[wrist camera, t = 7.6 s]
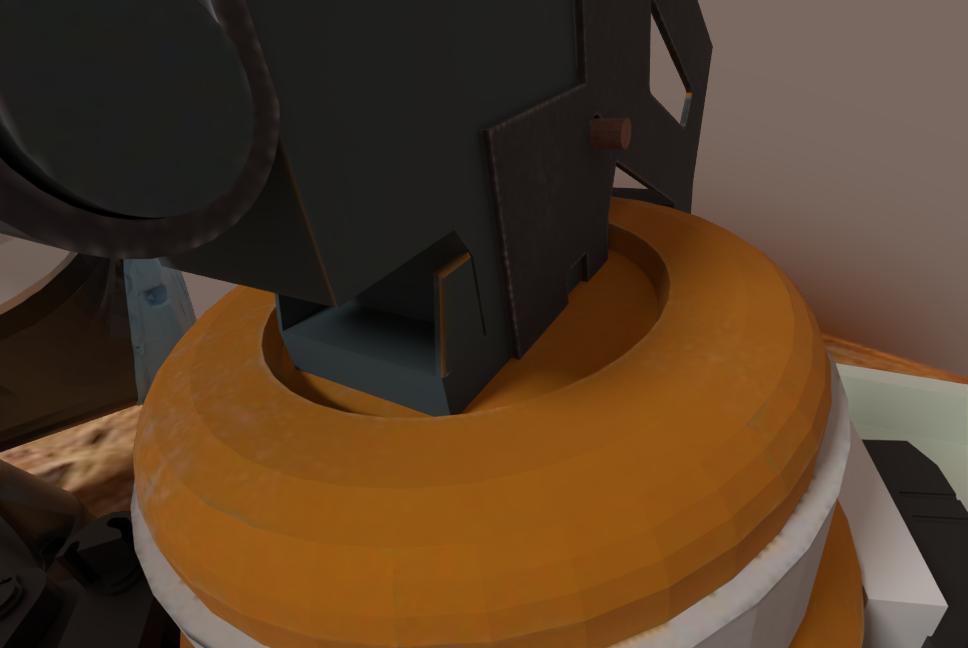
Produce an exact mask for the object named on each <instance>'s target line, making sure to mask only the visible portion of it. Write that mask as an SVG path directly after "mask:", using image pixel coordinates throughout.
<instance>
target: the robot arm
mask: <svg viewBox="0 0 968 648" xmlns="http://www.w3.org/2000/svg"><path fill="white" fill-rule="evenodd" d="M196 322H197V321H196V317H195V314H194V310H193V307H192V303H191V300H190V297H189V293H188V290H187V287H186V284H185V281H184V278H183V275H182V272H181V271H180V270H176V269H171V268H167V267H163V266H161V264H160V262H159V260H158V258H154V259H111V258H105V257H99V256H93V255H87V254H81V253H75V252H71V251H67V250H63V249H59V248H56V247H52V246H48V245H44V244H40V243H36V242H32V241H28V240H24V239H20V238H16V237H12V236H8V235H5V234H1V233H0V452H3V451H5V450H8V449H11V448H14V447H17V446H20V445H23V444H26V443H28V442H31V441H34V440H37V439H40V438H43V437H46V436H49V435H52V434H54V433H57V432H60V431H63V430H66V429H69V428H72V427H75V426H78V425H80V424H83V423H86V422H89V421H92V420H95V419H98V418H101V417H103V416H106V415H109V414H112V413H115V412H118V411H121V410H124V409H127V408H129V407H132V406H135V405H138V406H139V405H143V404H144V401H145V399H146V397H147V394H148V392H149V390H150V388H151V385H152V383H153V381H154V378H155V376H156V374H157V372H158V370H159V369H160V367H161V366H162V365H163V363H164V362H165V360H166V359H167V357H168V356H169V354H170V353H171V351H172V350H173V349H174V347H175V346H176V344H177V343H178V342H179V341H180V339H181V338H182V337H183V336H184V334H185V333H186V332H187V331H188V330H189V329H190V328H191V327H192V326H193V325H194V324H195V323H196ZM849 424H850V443H851V445H850V450H849V454H848V458H847V462H846V466H845V471H844V475H843V479H842V483H841V487H840V492H839V496H838V500H839V503H840V505H841V507H842V509H843V511H844V513H845V515H846V517H847V519H848V523H849V526H850V530H851V534H852V538H853V541H854V545H855V549H856V553H857V557H858V560H859V564H860V568H861V572H862V589H863V606H864V623H865V632H864V639H863V645H862V648H968V511H967V510H966V508H965V507H964V505H963V504H962V502H961V501H960V500H957V498H956V493H955V491H954V490H953V488H952V487H951V485H950V484H949V482H948V481H947V479H946V477H945V476H944V474H943V473H942V471H941V470H940V468H939V467H938V465H937V464H935V463H934V462H933V461H932V460H930V459H929V458H928V457H927V456H925V455H924V454H923V453H922V452H920V451H919V450H918V449H917V448H916V447H914V446H913V445H912V444H911V443H909V442H908V441H903V440H865V439H861V438H860V436H859V434H858V432H857V430H856V428H855V427H854V425H853V423H852V421H851V419H850V417H849ZM180 637H181V629H180V628H179V627H178V625H177V624H176V623H175V621H174V620H173V619H172V618H171V616H170V615H169V614H168V612H167V611H166V610H165V609H164V607H163V606H162V605H161V604H160V602H159V601H158V600H157V598H156V597H155V596H154V595H153V593H152V590H151V588H150V586H149V583H148V581H147V578H146V576H145V573H144V571H143V568H142V566H141V564H140V561H139V559H138V556H137V554H136V551H135V547H134V537H133V527H132V517H131V512H130V511H121V512H115V513H111V514H108V515H106V516H104V517H101V518H99V519H97V520H96V519H95V518H94V516H93V515H92V514H91V513H90V512H89V510H88V509H87V508H86V507H85V506H84V505H83V504H82V502H81V501H80V500H79V499H78V498H77V497H76V496H74V495H73V494H71V493H70V492H68V491H66V490H64V489H62V488H60V487H58V486H55V485H53V484H51V483H49V482H47V481H45V480H43V479H41V478H39V477H36V476H34V475H32V474H30V473H28V472H26V471H24V470H22V469H20V468H17V467H15V466H13V465H11V464H9V463H7V462H5V461H3V460H1V459H0V648H180Z"/></svg>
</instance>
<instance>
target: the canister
mask: <svg viewBox="0 0 968 648" xmlns="http://www.w3.org/2000/svg"><path fill="white" fill-rule="evenodd" d="M651 14H652V16H653V18H654V20H655V22H656V25H657V27H658V29H659V31H660V34H661V36H662V38H663V40H664V42H665V44H666V47H667V49H668V51H669V53H670V56H671V58H672V60H673V62H674V65H675V67H676V69H677V71H678V73H679V75H680V78H681V80H682V82H683V84H684V87H685V89H686V98H685V103H684V107H683V112H682V117H681V121H680V124H679V123H678V122H677V121H676V119H675V118H674V117H673V116H672V115H671V114H670V113H669V112H668V111H667V110H666V109H665V108H664V107H663V106H662V105H661V104H660V103H659V102H658V101H657V100H656V98H654V96H653V95H652V94H651V92H650V84H649V80H650V78H649V77H650V30H651V29H650V28H651ZM712 48H713V46H712V43H711V40H710V37H709V34H708V31H707V28H706V25H705V22H704V19H703V16H702V13H701V9H700V7H699V4H698V0H0V233H1V234H5V235H8V236H12V237H16V238H20V239H24V240H28V241H32V242H36V243H40V244H44V245H48V246H52V247H56V248H59V249H63V250H67V251H71V252H75V253H81V254H87V255H93V256H99V257H105V258H111V259H154V258H158V260H159V262H160V264H161V266H163V267H167V268H171V269H176V270H180V271H184V272H188V273H193V274H197V275H201V276H205V277H209V278H213V279H218V280H222V281H226V282H230V283H234V284H239V286H237V287H236V288H234V289H233V290H232V291H230V292H229V293H228V294H226V295H225V296H224V297H223V298H222V299H220V300H219V301H218V302H217V303H216V304H214V306H212V307H211V308H210V309H209V310H208V311H206V312H205V313H204V314H203V315H202V316H201V317H200V318H199V319H198V321H197V322H196V323H195V324H194V325H193V326H192V327H191V328H190V329H189V330H188V331H187V332H186V333H185V334H184V336H183V337H182V338H181V339H180V341H179V342H178V343H177V344H176V346H175V347H174V349H173V350H172V351H171V353H170V354H169V356H168V357H167V359H166V360H165V362H164V363H163V365H162V366H161V367H160V369H159V370H158V372H157V374H156V376H155V378H154V381H153V383H152V385H151V388H150V390H149V392H148V394H147V397H146V399H145V401H144V404H143V407H142V410H141V413H140V416H139V420H138V426H137V432H136V437H135V443H134V449H133V463H134V476H135V482H134V488H133V494H132V501H131V517H132V527H133V537H134V547H135V551H136V554H137V556H138V559H139V561H140V564H141V566H142V568H143V571H144V573H145V576H146V578H147V581H148V583H149V586H150V588H151V590H152V593H153V595H154V596H155V597H156V598H157V600H158V601H159V602H160V604H161V605H162V606H163V607H164V609H165V610H166V611H167V612H168V614H169V615H170V616H171V618H172V619H173V620H174V621H175V623H176V624H177V625H178V627H179V628H180V629H181V637H180V648H862V645H863V639H864V632H865V623H864V606H863V589H862V572H861V568H860V564H859V560H858V557H857V553H856V549H855V545H854V541H853V538H852V534H851V530H850V526H849V523H848V519H847V517H846V515H845V513H844V511H843V509H842V507H841V505H840V503H839V500H838V496H839V492H840V487H841V483H842V479H843V475H844V471H845V466H846V462H847V458H848V454H849V450H850V445H851V443H850V424H849V405H848V398H847V395H846V392H845V389H844V386H843V383H842V380H841V377H840V374H839V372H838V369H837V366H836V363H835V361H834V359H833V358H832V356H831V354H830V353H829V351H828V350H827V348H826V347H825V344H824V341H823V338H822V335H821V332H820V329H819V326H818V323H817V320H816V317H815V314H814V313H813V311H812V310H811V308H810V307H809V305H808V304H807V302H806V301H805V299H804V298H803V296H802V295H801V293H800V292H799V290H798V289H797V287H796V286H795V285H794V283H793V282H792V281H791V280H790V278H789V277H788V276H787V275H786V274H785V273H784V272H783V271H782V270H781V269H780V268H779V267H778V266H777V265H776V264H775V263H773V262H772V261H771V260H770V259H769V258H768V257H767V256H766V255H765V254H764V253H762V252H761V251H759V250H758V249H756V248H755V247H753V246H752V245H750V244H749V243H747V242H746V241H744V240H743V239H741V238H740V237H738V236H736V235H735V234H733V233H731V232H730V231H728V230H726V229H724V228H722V227H720V226H717V225H715V224H713V223H711V222H709V221H707V220H705V219H702V218H700V217H697V216H694V215H691V203H692V188H693V178H694V171H695V164H696V158H697V150H698V144H699V137H700V130H701V123H702V116H703V110H704V103H705V96H706V89H707V82H708V75H709V68H710V62H711V55H712ZM616 166H617V167H618V168H619V169H621V170H622V171H624V172H625V173H627V174H628V175H629V176H631V177H632V178H634V179H635V180H637V181H638V182H640V183H641V184H642V185H644V186H645V187H647V188H648V189H635V188H613V182H614V174H615V167H616Z"/></svg>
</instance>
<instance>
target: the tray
mask: <svg viewBox="0 0 968 648" xmlns="http://www.w3.org/2000/svg"><path fill="white" fill-rule="evenodd" d="M836 366H837V369H838V372H839V374H840V377H841V380H842V383H843V386H844V389H845V392H846V395H847V398H848V405H849V417H850V419H851V421H852V423H853V425H854V427H855V428H856V430H857V432H858V434H859V436H860V438H861V439H865V440H903V441H908V442H909V443H911V444H912V445H913V446H914V447H916V448H917V449H918V450H919V451H920V452H922V453H923V454H924V455H925V456H927V457H928V458H929V459H930V460H932V461H933V462H934V463H935V464H937V465H938V467H939V468H940V470H941V471H942V473H943V474H944V476H945V477H946V479H947V481H948V482H949V484H950V485H951V487H952V488H953V490H954V491H955V493H956V498H957V500H960V501H961V502H962V504H963V505H964V507H965V508H966V510H967V511H968V385H966V384H960V383H954V382H948V381H942V380H935V379H929V378H923V377H917V376H911V375H905V374H899V373H893V372H887V371H881V370H874V369H868V368H862V367H856V366H850V365H844V364H838V363H836Z"/></svg>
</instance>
